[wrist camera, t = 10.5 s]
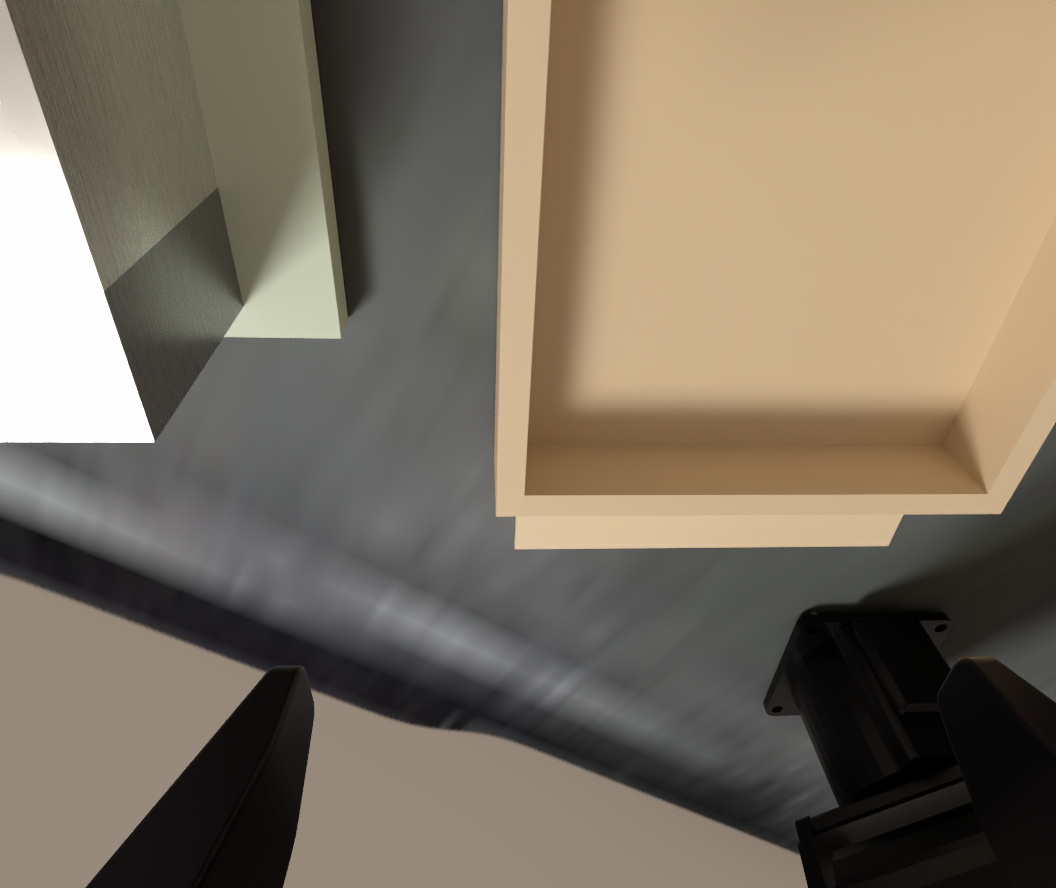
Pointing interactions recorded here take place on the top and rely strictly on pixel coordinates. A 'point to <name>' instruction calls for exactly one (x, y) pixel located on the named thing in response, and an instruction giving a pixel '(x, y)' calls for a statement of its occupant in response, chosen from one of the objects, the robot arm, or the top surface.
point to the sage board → (270, 162)
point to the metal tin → (104, 222)
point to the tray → (771, 267)
